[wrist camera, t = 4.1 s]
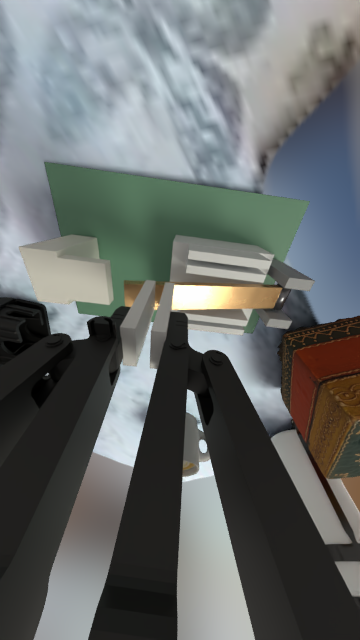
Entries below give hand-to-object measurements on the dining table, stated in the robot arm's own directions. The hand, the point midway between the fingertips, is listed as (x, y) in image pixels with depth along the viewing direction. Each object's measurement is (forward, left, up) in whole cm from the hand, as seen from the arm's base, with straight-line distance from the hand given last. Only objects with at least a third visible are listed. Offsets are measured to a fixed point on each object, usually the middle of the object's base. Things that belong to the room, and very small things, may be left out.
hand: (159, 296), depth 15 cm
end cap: (-24, -13, -11) cm, 29 cm away
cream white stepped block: (-9, 0, -10) cm, 13 cm away
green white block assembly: (0, 0, -11) cm, 11 cm away
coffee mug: (+7, -41, -11) cm, 43 cm away
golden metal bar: (+5, 0, -3) cm, 6 cm away
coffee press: (+36, -40, -11) cm, 56 cm away
